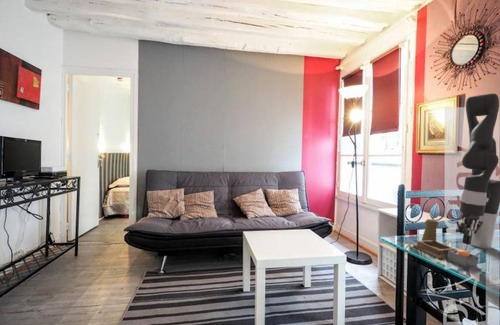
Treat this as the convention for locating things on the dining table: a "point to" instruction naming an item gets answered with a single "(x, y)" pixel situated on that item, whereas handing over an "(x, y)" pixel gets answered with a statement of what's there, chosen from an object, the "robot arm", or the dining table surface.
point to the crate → (433, 248)
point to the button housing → (462, 259)
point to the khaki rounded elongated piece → (430, 230)
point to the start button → (463, 252)
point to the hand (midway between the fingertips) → (466, 243)
